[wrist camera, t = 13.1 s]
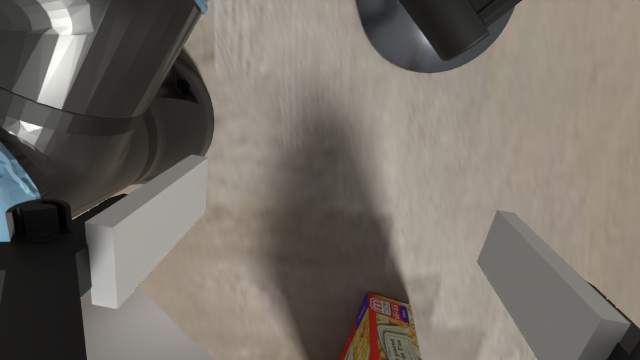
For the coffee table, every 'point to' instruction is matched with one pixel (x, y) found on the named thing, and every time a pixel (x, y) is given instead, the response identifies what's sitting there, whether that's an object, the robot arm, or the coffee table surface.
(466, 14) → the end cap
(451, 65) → the plate
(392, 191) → the coffee table surface
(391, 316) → the popcorn box
